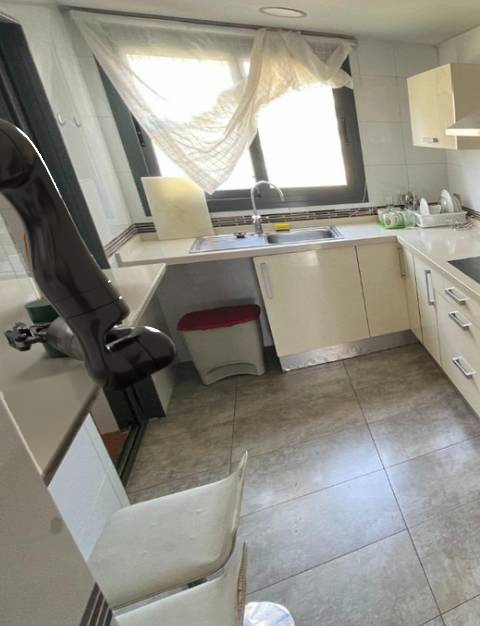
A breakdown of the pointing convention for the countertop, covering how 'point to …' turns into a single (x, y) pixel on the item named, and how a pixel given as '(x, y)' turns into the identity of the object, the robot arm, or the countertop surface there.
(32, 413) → the countertop surface
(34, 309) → the tea tin
